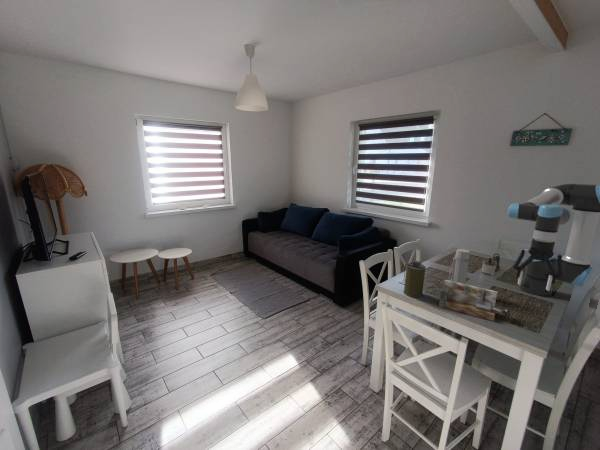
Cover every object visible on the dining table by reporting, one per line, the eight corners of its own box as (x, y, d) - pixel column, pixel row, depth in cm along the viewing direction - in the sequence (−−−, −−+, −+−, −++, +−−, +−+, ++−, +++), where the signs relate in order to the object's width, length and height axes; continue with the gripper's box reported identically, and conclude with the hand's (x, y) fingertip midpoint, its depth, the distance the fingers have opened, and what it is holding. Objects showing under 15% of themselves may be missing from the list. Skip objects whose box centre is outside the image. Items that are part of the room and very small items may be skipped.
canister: (423, 292, 157) (427, 260, 153) (421, 299, 148) (425, 266, 144) (404, 287, 163) (407, 257, 158) (401, 294, 154) (404, 262, 149)
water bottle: (461, 287, 164) (468, 249, 158) (466, 293, 156) (472, 253, 151) (445, 285, 166) (451, 247, 160) (448, 291, 159) (454, 251, 153)
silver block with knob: (508, 314, 131) (512, 297, 129) (509, 319, 127) (512, 302, 125) (475, 305, 139) (478, 289, 137) (475, 310, 134) (477, 294, 132)
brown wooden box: (493, 312, 137) (497, 291, 134) (493, 321, 129) (498, 299, 126) (441, 298, 150) (444, 279, 147) (438, 306, 142) (441, 286, 139)
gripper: (576, 242, 114) (564, 290, 119) (511, 234, 126) (502, 278, 131) (581, 246, 108) (568, 296, 113) (512, 237, 120) (503, 283, 125)
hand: (532, 286), depth 122 cm, fingers open, 9 cm apart
